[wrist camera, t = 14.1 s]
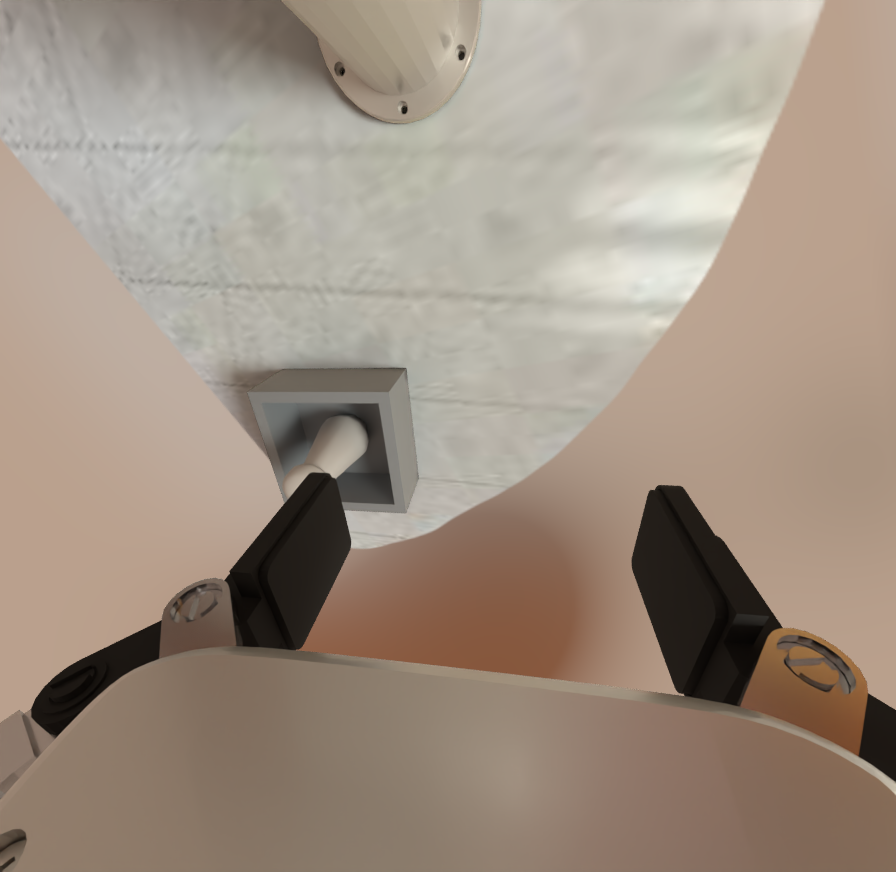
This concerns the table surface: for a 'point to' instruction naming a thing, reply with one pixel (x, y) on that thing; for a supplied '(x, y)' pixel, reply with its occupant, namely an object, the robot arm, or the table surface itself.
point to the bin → (343, 393)
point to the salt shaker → (331, 450)
